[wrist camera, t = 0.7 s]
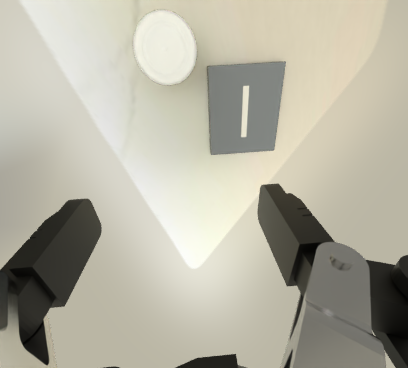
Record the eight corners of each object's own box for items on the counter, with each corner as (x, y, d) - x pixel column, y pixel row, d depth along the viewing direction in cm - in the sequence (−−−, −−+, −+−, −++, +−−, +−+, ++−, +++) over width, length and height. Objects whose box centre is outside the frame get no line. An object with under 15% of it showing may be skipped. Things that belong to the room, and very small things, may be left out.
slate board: (207, 66, 26) (208, 66, 25) (282, 61, 26) (285, 61, 25) (210, 152, 32) (211, 155, 31) (271, 147, 32) (274, 150, 31)
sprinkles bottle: (192, 36, 24) (194, 5, 13) (195, 78, 27) (199, 83, 15) (155, 38, 24) (123, 9, 13) (161, 80, 27) (139, 88, 15)
